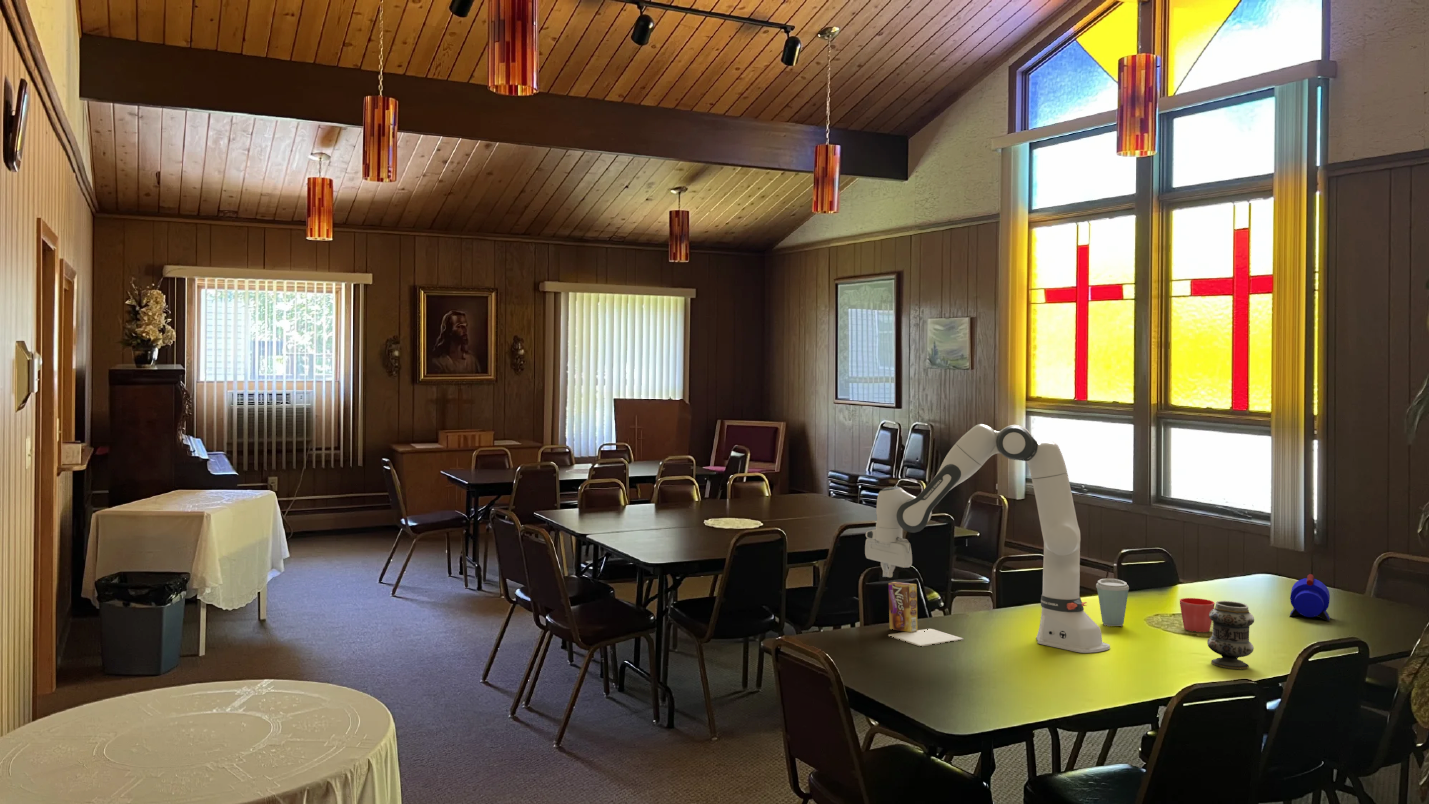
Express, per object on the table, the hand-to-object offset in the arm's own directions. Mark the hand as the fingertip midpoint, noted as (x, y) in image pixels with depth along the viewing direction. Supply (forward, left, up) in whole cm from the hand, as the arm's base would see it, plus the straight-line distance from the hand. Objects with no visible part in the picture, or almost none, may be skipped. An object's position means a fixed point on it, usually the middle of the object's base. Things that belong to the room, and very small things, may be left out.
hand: (887, 576), depth 337 cm
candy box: (-8, 0, -16) cm, 18 cm away
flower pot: (-52, -90, -17) cm, 105 cm away
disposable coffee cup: (-34, -70, -17) cm, 80 cm away
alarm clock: (-59, -145, -17) cm, 158 cm away
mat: (-19, 0, -17) cm, 25 cm away
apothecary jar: (-84, -58, -17) cm, 104 cm away
